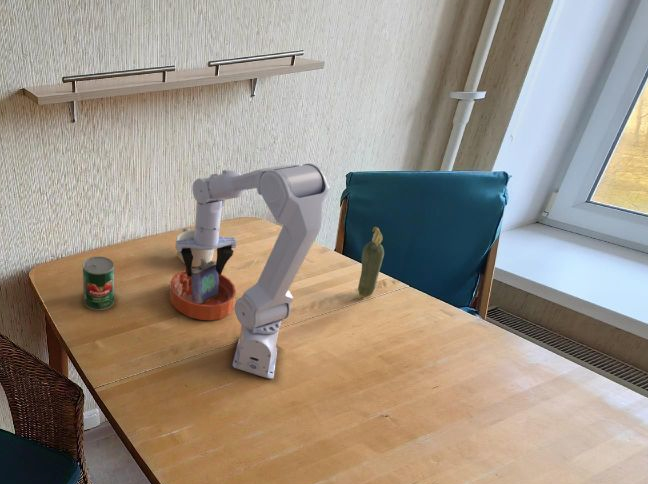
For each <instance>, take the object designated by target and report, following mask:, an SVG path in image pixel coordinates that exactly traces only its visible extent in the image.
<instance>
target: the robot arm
mask: <svg viewBox="0 0 648 484" xmlns="http://www.w3.org/2000/svg"><path fill="white" fill-rule="evenodd" d="M221 172H222V173H220V174H218V173H212V174H210V175H209V177H203V178H201V177H200V178H199V177H198V178H197V179H195V180H194V181H193V184H192V190H191V191H192V196H193V199H194V200H195V201H196V207H195V220H194V221H195V222H194V230H195V235H194V237H191V238H188V239H184V240H179V241H177V240H175V250H176V251H180V252H181V254H182V257H183V259H184V263H183V264H184V267H185V270H186V273H187V275H188V276H191V269H193V267H192V261H193V258H194V257H193V255H192V251H191V249H202V250H213V249H214V250H216V260H215V261H216V271H217V272H218V274H223V271H224V268H225V266H226V264H227V263H228V261H229V260H230V259H231V258H232V257H233V256H234V250H233V249H236V248H237V243H238V241H237V240H236V238H235V237H232V236H231V237H229V236H220V228H221V217H222V208H223V207H224V206H225V201H226V200H231V199H237V198H238V199H239V198H240V197H242V196H243V195H244V194H245V192H246V190H253V189H256V190H257V194H258V195H260V196H261V197H262V199H263V201H264V202H265V204H266V206H267V208H268V209H269V211H270V213H271V214H272V216H273V219H274V220H275V222H276V223H278V224H281V225H282V228H281V229H280V232H279V234H278V236H277V239H276V240H275V242H274V245H273V247H272V250H271V251H270V254H269V256H268V258H267V260H266V262H265V265H264V266H263V269H262V271H261V273H260V276H259V278H258V280H257V282H256V283H255V284H253V285H252V286H250V288H248V289H246V290H245V291H244V292H243V294H242V296H241V297H239V298H237V299H235V303H234V314H235V316H236V319H237V321H238V322H239V323H240V325H241V326H240V336H239V338H238V342H237V345H236V349H235V353H234V357H233V361H232V367H233V368H234V369H237V370H240V371H243V372H246V373H249V374H252V375H255V376H260V377H261V378H262V377H263V378H266V379H269V380H273V379H274V377H275V368H276V363H277V354H278V347H277V343H278V337H279V330H280V326H282V325H283V321H284V320H286V319H288V318H289V317H290V316H291V312H292V302H293V300H294V296H293V295H292V294H291V293H292V292H291V291H290V290H289V289H290V288H291V286H292V284H293V282H294V280H295V278H296V276H297V274H298V272H299V271H300V269H301V267H302V266H303V264H304V262H305V259H306V257H307V256H308V254H309V252H310V250H311V248H312V246H313V244H314V242H315V241H316V239H317V237H318V235H319V233H320V231H321V227H322V220H323V219H322V218H323V217H322V216H323V206H324V202H325V200H326V198H327V196H328V194H329V192H330V190H331V188H330V186H329V183H328V181H327V177H326V175H325V173H324V172H323V170H322V168H321V167H319V166H318V165H316V164H315V163H303V164H302V165H299V164H288V165H279V166H278V165H277V166H271V167H265V168H264V167H263V168H259V169H256V170H253V171H250V172H247V173H243V174H242V173H240V172H239V171H236V170H232V169H231V168H228V169H224V170H222V171H221Z"/></svg>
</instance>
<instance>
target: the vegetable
mask: <svg viewBox="0 0 648 484" xmlns="http://www.w3.org/2000/svg"><path fill="white" fill-rule="evenodd" d="M373 232H374V233H373ZM372 233H373V236H372V238H371V241H369V242H367V243H365V245H364V247H363V249H362V254H361V272H360V277H359V282H358V286H357V291H358V295H359V296H360V297H361V298H367V297H370V296H372V295H373V293H374V292H375V289H376V287H377V283H378V278H379V274H380V270H381V267H382V265H383V261H384V256H385V249H384V247H383V245H382V244H381V243H382V242H383V234H382V232H381V231H380V228H379V227H377V226H374V227H373V228H372Z"/></svg>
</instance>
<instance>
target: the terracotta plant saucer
mask: <svg viewBox="0 0 648 484" xmlns="http://www.w3.org/2000/svg"><path fill="white" fill-rule="evenodd" d="M193 269H194V268H191V271H192V270H193ZM169 282H170V283H169V284H170V285H169V301H170V303H171V304H172V306H173V307H174V308H175V309H176V310H177V311H178V312H179V313H181V314H183V315H185V316H187V317H189V318H192V319H196V320H199V321H200V320H203V321H215V320H220V319H223V318H225V317H227V316H229V315H230V314H231V312H233V311H234V308H235V303H236V294H237V292H236V291H237V290H236V287H235V284H234V283H233V282H232V280H231V279H229V278H228V277H226V275H224V274H223V273H221V274H219V296H216V297H214V298H212V299H210V300H209V301H207V302H205V303H203V304H201V305H200V304H196V303H192V287H191V276H188V275H187V273H186V269H184V270H181V271H179V272H177V273H175V274H174V275H173V276H172V278H171V280H170V281H169Z"/></svg>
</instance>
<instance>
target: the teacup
mask: <svg viewBox="0 0 648 484" xmlns="http://www.w3.org/2000/svg"><path fill="white" fill-rule="evenodd" d="M194 235H195V229H190V228H189V227H184V228H183V229H182V232H180V233H179V234H178V235H177V236H176V241H179V240H184V239H188V238H191V237H194ZM176 251H177V250H176ZM191 251H192V255H193V257H194V258H193V261H192V268H196V267H198V266H200V264H201V261H202V260H200V259H203V260H204V259H205V262H206V261H207V262H206V263H208V262H209V261H213V259H214V258H213V257H214V252H215V249H213V250H202V249H191ZM177 256H178V259H179V260H180V261H181V262H182V263H183V264H185V263H184V259H183V257H182V254H181V252H180V251H177ZM199 260H200V261H199Z"/></svg>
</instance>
